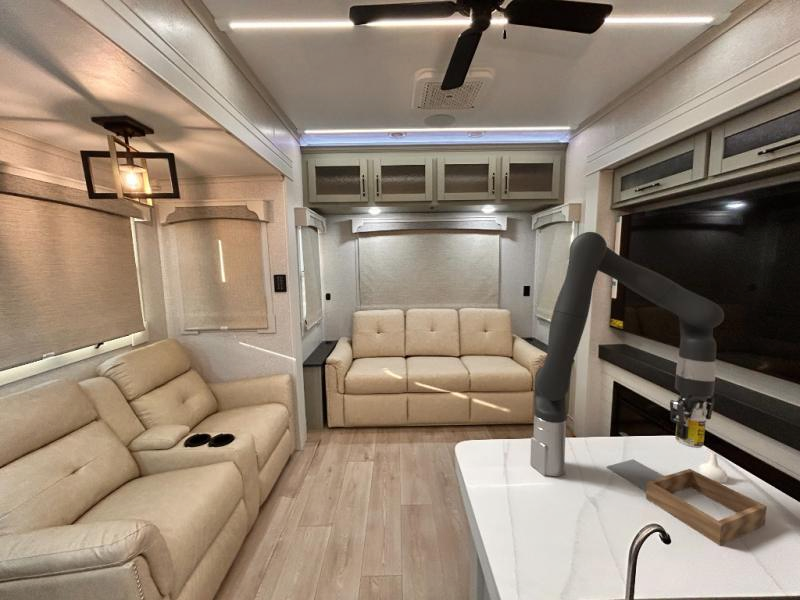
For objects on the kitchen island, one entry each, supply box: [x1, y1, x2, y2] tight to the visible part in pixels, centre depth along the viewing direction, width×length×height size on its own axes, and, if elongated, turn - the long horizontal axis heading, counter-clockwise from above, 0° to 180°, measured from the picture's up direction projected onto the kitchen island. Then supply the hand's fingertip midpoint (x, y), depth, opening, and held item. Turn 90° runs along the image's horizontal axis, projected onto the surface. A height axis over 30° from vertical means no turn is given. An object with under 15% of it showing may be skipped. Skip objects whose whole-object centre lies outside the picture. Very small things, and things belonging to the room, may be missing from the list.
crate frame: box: [645, 468, 767, 546], centre depth 82 cm, size 18×16×5 cm
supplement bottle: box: [675, 408, 707, 449], centre depth 84 cm, size 6×6×10 cm
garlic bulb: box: [698, 451, 728, 484], centre depth 96 cm, size 6×6×8 cm
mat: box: [606, 458, 665, 492], centre depth 98 cm, size 12×12×1 cm
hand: (689, 435), depth 84 cm, fingers closed on supplement bottle, 5 cm apart
